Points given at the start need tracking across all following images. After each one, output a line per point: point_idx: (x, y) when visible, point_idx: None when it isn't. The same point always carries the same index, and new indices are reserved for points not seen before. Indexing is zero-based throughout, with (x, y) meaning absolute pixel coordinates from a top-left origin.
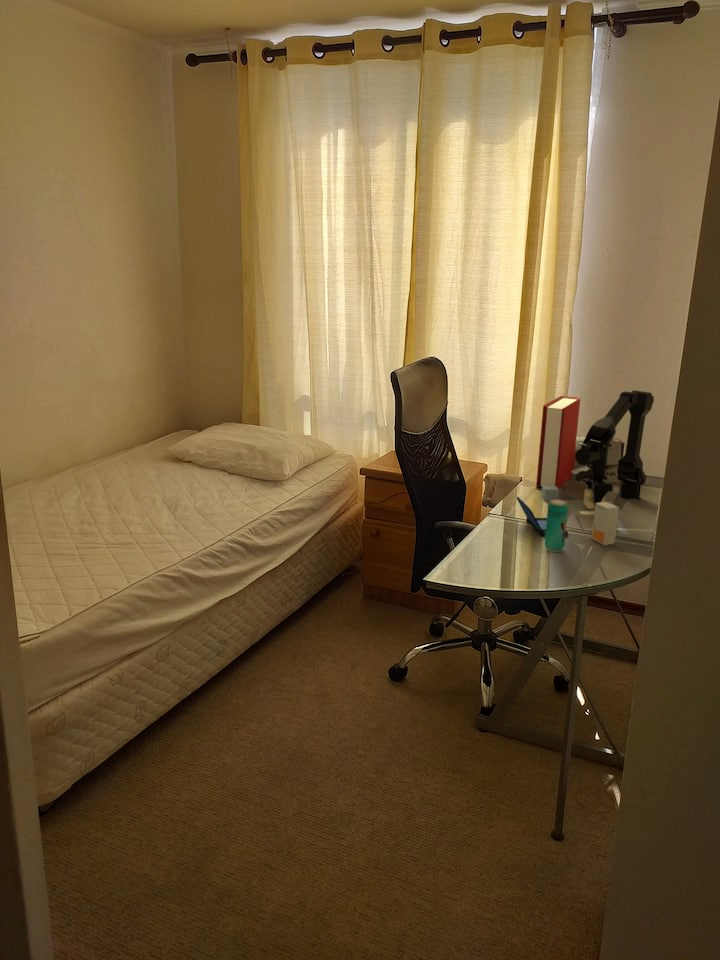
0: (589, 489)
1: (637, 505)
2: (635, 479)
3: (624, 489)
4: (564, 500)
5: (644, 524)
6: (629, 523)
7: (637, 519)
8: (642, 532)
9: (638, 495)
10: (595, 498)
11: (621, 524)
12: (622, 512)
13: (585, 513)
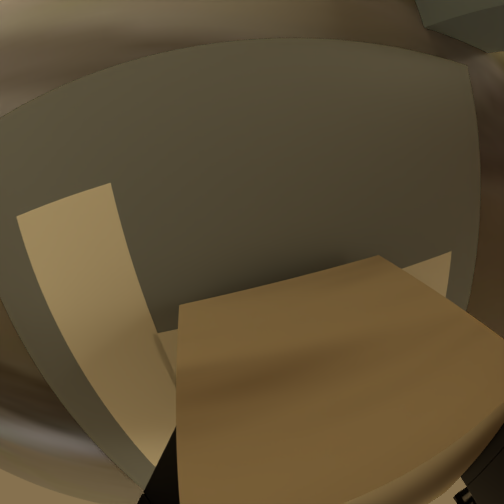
0: (480, 442)
1: None
2: (474, 500)
3: None
4: (465, 87)
5: (102, 501)
6: (72, 472)
7: None
8: (3, 466)
9: None
10: (150, 495)
11: (29, 443)
12: None
13: (54, 263)
